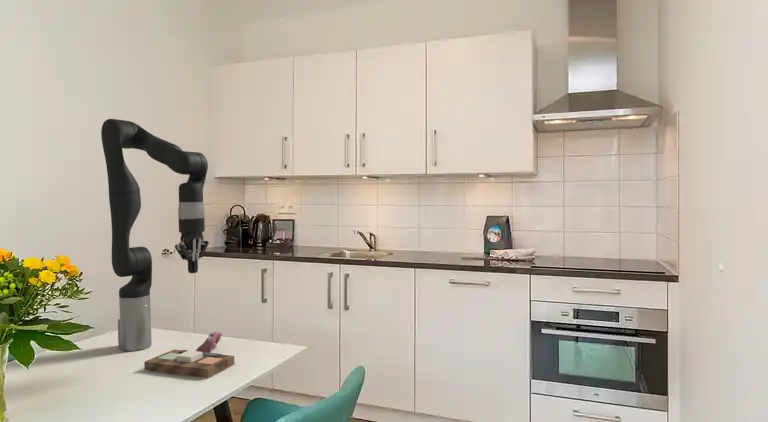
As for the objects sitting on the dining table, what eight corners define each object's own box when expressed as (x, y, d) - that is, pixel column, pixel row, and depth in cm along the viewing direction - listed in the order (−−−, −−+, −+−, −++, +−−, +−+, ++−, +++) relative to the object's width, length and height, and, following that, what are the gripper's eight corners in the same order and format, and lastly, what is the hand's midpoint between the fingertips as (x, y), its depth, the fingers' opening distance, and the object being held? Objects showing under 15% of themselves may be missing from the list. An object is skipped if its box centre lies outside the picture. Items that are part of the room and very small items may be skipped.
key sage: (157, 366, 151) (157, 357, 150) (170, 360, 155) (169, 352, 155) (171, 367, 149) (171, 359, 149) (183, 362, 154) (183, 354, 154)
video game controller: (207, 360, 161) (216, 340, 161) (194, 353, 161) (203, 334, 161) (217, 350, 171) (226, 331, 171) (205, 344, 171) (214, 325, 170)
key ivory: (176, 363, 148) (176, 355, 148) (188, 358, 153) (188, 350, 153) (191, 365, 147) (190, 357, 146) (202, 359, 151) (202, 351, 151)
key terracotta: (197, 370, 146) (196, 362, 146) (208, 365, 151) (208, 356, 151) (211, 372, 144) (211, 364, 144) (222, 366, 149) (222, 358, 149)
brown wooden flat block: (144, 370, 148) (144, 360, 148) (174, 357, 159) (174, 348, 159) (208, 378, 141) (207, 367, 140) (234, 364, 152) (234, 354, 152)
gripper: (196, 215, 165) (197, 269, 166) (165, 217, 153) (167, 275, 153) (215, 215, 163) (217, 270, 163) (186, 218, 150) (187, 277, 151)
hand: (193, 272), depth 158 cm, fingers closed
